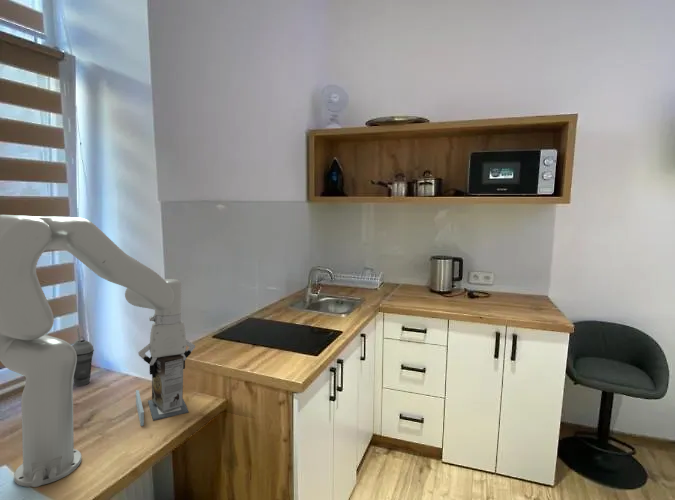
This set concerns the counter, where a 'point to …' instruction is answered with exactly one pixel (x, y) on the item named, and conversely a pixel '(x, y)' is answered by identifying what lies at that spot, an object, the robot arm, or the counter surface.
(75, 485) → the counter surface
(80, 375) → the beverage cup
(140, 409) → the acrylic wall
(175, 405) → the coffee box
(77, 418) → the counter surface
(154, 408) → the mat
